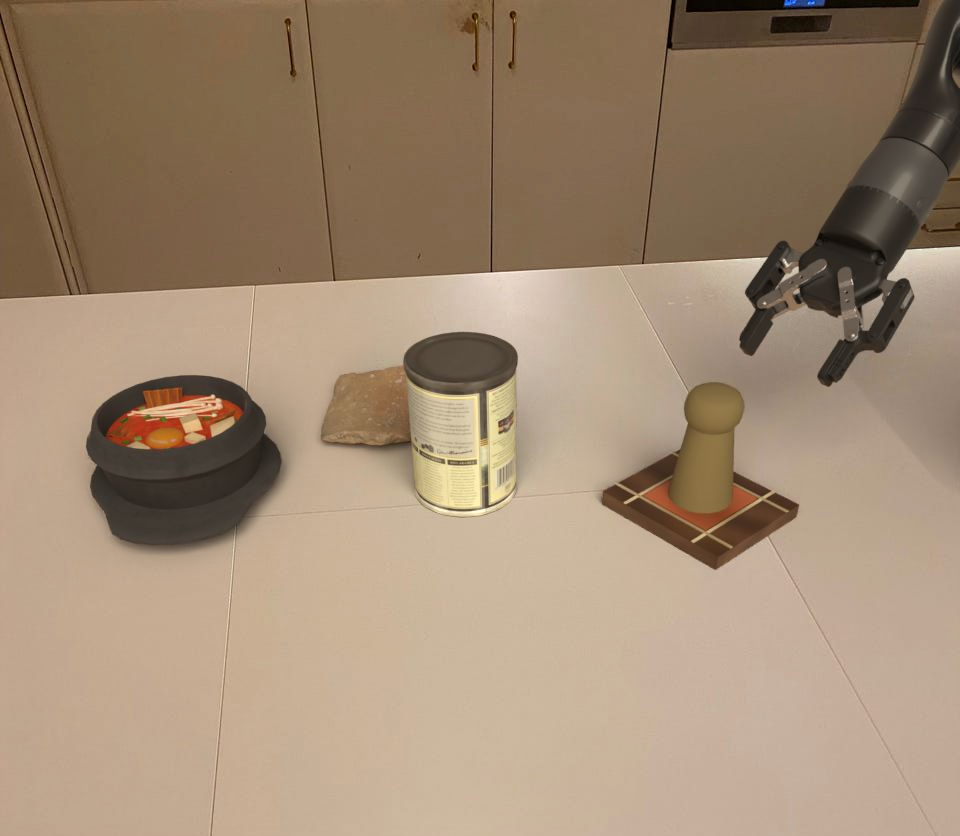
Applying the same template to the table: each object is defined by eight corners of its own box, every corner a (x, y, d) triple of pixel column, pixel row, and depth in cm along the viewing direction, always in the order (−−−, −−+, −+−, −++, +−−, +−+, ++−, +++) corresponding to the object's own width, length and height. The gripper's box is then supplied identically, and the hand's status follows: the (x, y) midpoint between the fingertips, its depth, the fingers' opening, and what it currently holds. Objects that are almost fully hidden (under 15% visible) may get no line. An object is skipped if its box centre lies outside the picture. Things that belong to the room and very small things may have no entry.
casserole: (115, 429, 107) (94, 357, 102) (287, 416, 109) (275, 344, 103) (73, 569, 89) (44, 492, 83) (280, 552, 90) (265, 474, 85)
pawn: (666, 510, 92) (680, 404, 84) (669, 475, 96) (682, 371, 89) (732, 516, 91) (752, 409, 83) (732, 480, 95) (751, 375, 88)
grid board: (682, 459, 101) (684, 445, 100) (796, 517, 93) (800, 503, 92) (601, 504, 95) (602, 490, 94) (715, 570, 87) (718, 556, 86)
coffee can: (423, 457, 102) (414, 328, 93) (522, 463, 101) (523, 333, 91) (403, 514, 95) (392, 380, 85) (510, 521, 93) (510, 386, 84)
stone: (438, 389, 113) (437, 363, 111) (408, 460, 101) (406, 432, 99) (345, 383, 114) (342, 357, 112) (306, 452, 103) (301, 425, 101)
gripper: (963, 251, 88) (859, 410, 90) (825, 212, 96) (733, 359, 98) (949, 203, 82) (839, 375, 84) (804, 165, 90) (707, 323, 92)
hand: (782, 366), depth 91 cm, fingers open, 8 cm apart
